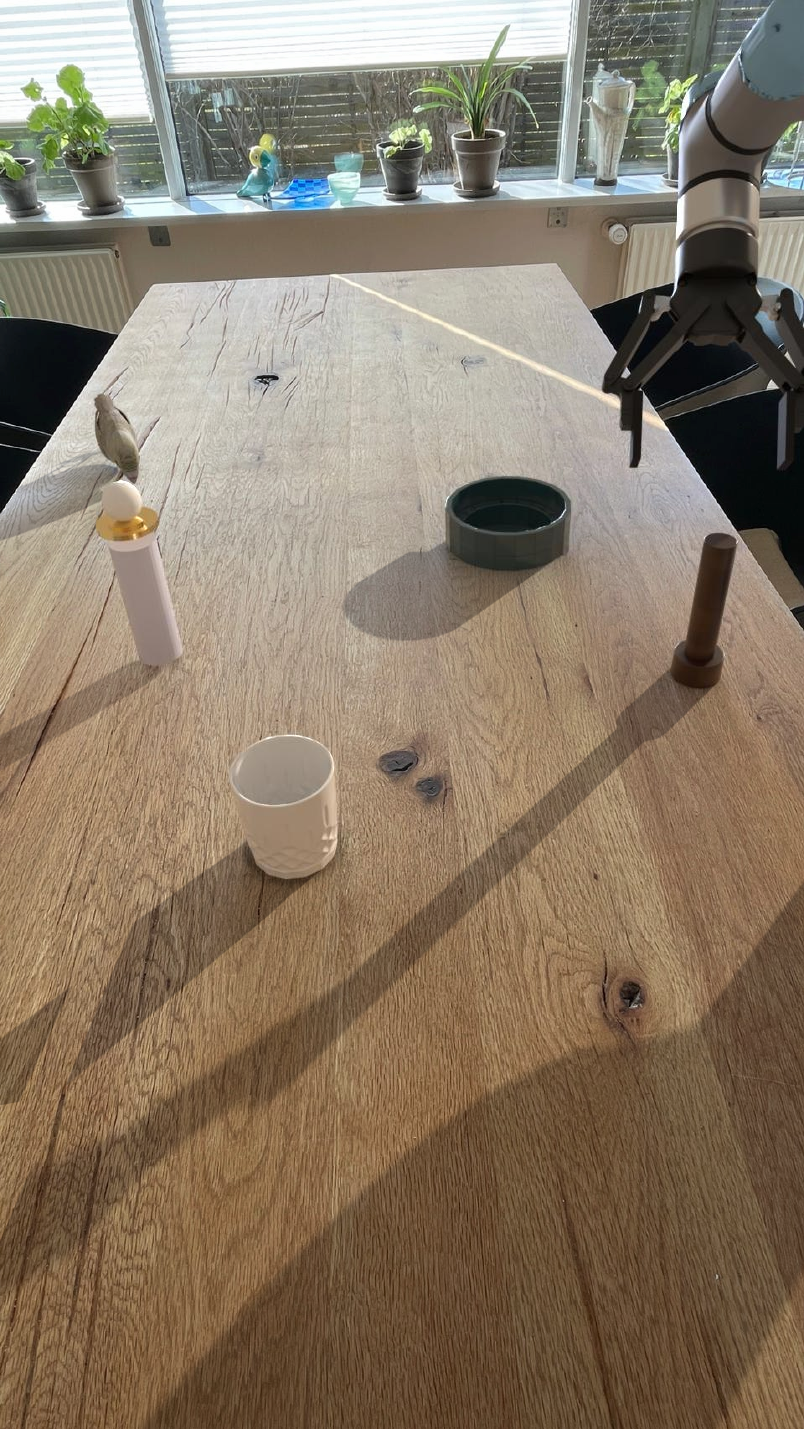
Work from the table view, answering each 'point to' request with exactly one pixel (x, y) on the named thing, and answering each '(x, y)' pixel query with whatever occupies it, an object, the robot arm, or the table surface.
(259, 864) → the white cup
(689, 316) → the robot arm
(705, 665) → the brown pestle
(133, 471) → the decorative bird
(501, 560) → the bowl
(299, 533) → the table surface
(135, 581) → the perfume bottle
